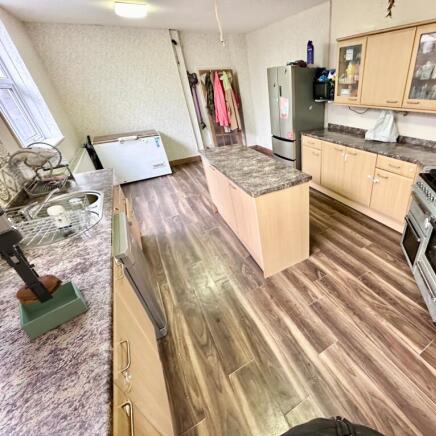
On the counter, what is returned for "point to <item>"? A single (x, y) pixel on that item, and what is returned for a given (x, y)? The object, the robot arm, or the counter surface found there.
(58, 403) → the counter surface
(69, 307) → the green shallow tray
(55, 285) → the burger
